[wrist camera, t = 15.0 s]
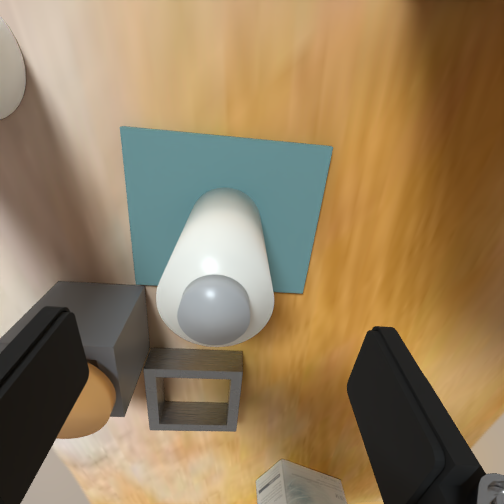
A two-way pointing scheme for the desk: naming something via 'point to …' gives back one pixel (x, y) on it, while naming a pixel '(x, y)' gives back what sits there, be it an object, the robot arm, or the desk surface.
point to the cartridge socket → (192, 366)
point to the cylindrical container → (10, 72)
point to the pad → (222, 176)
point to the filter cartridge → (218, 273)
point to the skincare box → (298, 486)
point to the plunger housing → (103, 330)
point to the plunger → (90, 405)
